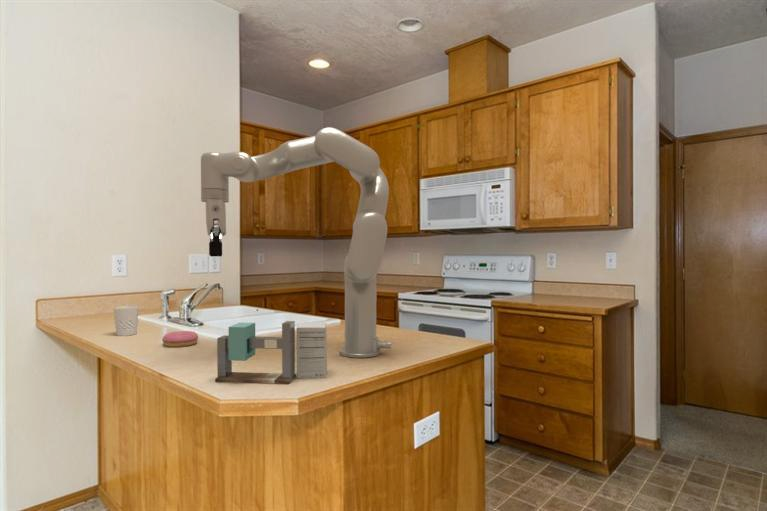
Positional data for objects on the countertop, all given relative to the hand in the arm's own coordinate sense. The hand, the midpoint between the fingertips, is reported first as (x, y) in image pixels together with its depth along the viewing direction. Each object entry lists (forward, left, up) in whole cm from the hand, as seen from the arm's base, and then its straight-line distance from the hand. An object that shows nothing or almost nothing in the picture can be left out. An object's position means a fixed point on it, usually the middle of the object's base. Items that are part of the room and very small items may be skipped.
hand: (215, 256), depth 136 cm
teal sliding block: (-16, +21, -21) cm, 34 cm away
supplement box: (-32, +15, -30) cm, 46 cm away
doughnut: (+20, -17, -30) cm, 40 cm away
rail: (-20, +21, -29) cm, 41 cm away
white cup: (+49, -31, -30) cm, 65 cm away
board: (-20, +21, -29) cm, 41 cm away
